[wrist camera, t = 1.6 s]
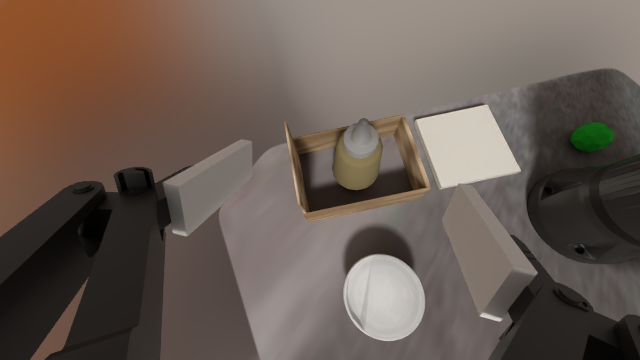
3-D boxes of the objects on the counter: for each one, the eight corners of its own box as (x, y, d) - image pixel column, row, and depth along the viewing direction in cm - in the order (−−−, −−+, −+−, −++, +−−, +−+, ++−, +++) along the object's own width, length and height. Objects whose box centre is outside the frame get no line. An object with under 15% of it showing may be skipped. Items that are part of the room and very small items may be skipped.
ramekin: (332, 269, 40) (331, 270, 35) (393, 244, 41) (401, 241, 36) (360, 342, 36) (364, 356, 31) (427, 313, 37) (440, 321, 32)
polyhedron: (557, 139, 44) (581, 125, 40) (577, 127, 45) (604, 112, 40) (579, 160, 43) (607, 149, 38) (600, 147, 43) (631, 134, 39)
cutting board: (516, 173, 43) (520, 170, 42) (438, 189, 43) (441, 187, 42) (483, 108, 47) (487, 104, 46) (413, 123, 47) (415, 119, 46)
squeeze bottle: (377, 195, 43) (402, 153, 26) (332, 195, 44) (329, 155, 27) (374, 154, 46) (396, 92, 29) (332, 155, 46) (328, 95, 29)
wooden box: (419, 198, 43) (449, 176, 31) (309, 221, 43) (298, 207, 31) (396, 131, 47) (415, 90, 36) (296, 153, 47) (283, 119, 36)
